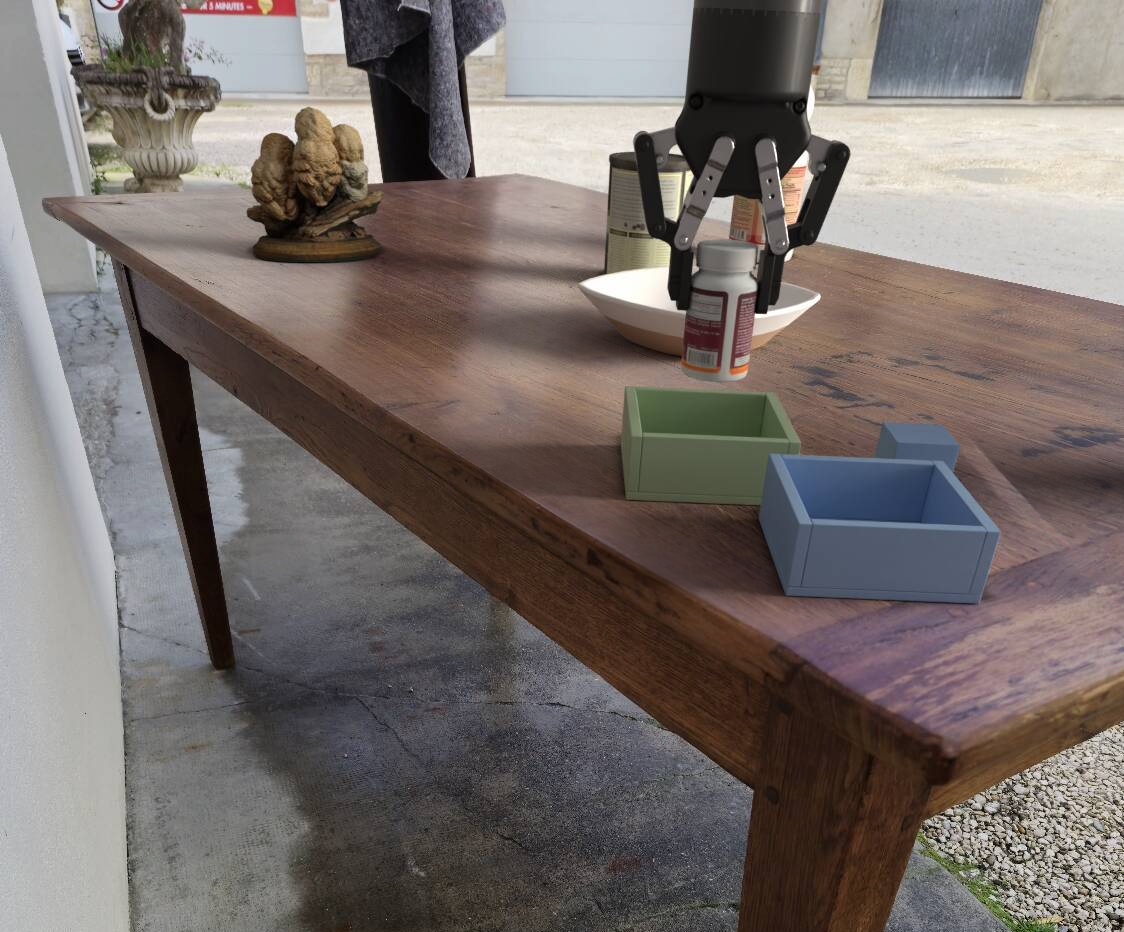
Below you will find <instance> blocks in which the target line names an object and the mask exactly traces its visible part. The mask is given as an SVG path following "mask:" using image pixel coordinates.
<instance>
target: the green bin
mask: <svg viewBox="0 0 1124 932" xmlns="http://www.w3.org/2000/svg"><path fill="white" fill-rule="evenodd" d="M623 394H624V395H623V408H622V421H621V422H622V423H621V434H620V436H621V437H620V447H621V448H620V450H621V461H622V471H623V480H624V481H623V482H624V491H625V500H627V501H643V502H644V501H645V502H647V501H648V502H667V503H669V502H671V503H691V504H692V503H696V504H719V505H722V504H723V505H738V506H739V505H740V506H741V505H742V506H761V500H762V494H763V487H764V481H765V474H766V468H767V462H768V455H769V454H780V455H781V454H789V455H800V453H801V447H802V442H801V440H800V437H799V436H798V434H797V432H796V430H795V428H794V426H793V424H792V422H791V420H790V419H789V416H788V415H787V413H786V410H785V408H784V407H783V405H782V403H781V401H780V399H779V396H778V395H777V393H776V392H775V391H751V390H750V391H748V390H727V389H705V388H704V389H702V388H681V387H659V386H658V387H657V386H656V387H655V386H635V385H634V386H632V385H625V386H624V393H623Z"/></svg>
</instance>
